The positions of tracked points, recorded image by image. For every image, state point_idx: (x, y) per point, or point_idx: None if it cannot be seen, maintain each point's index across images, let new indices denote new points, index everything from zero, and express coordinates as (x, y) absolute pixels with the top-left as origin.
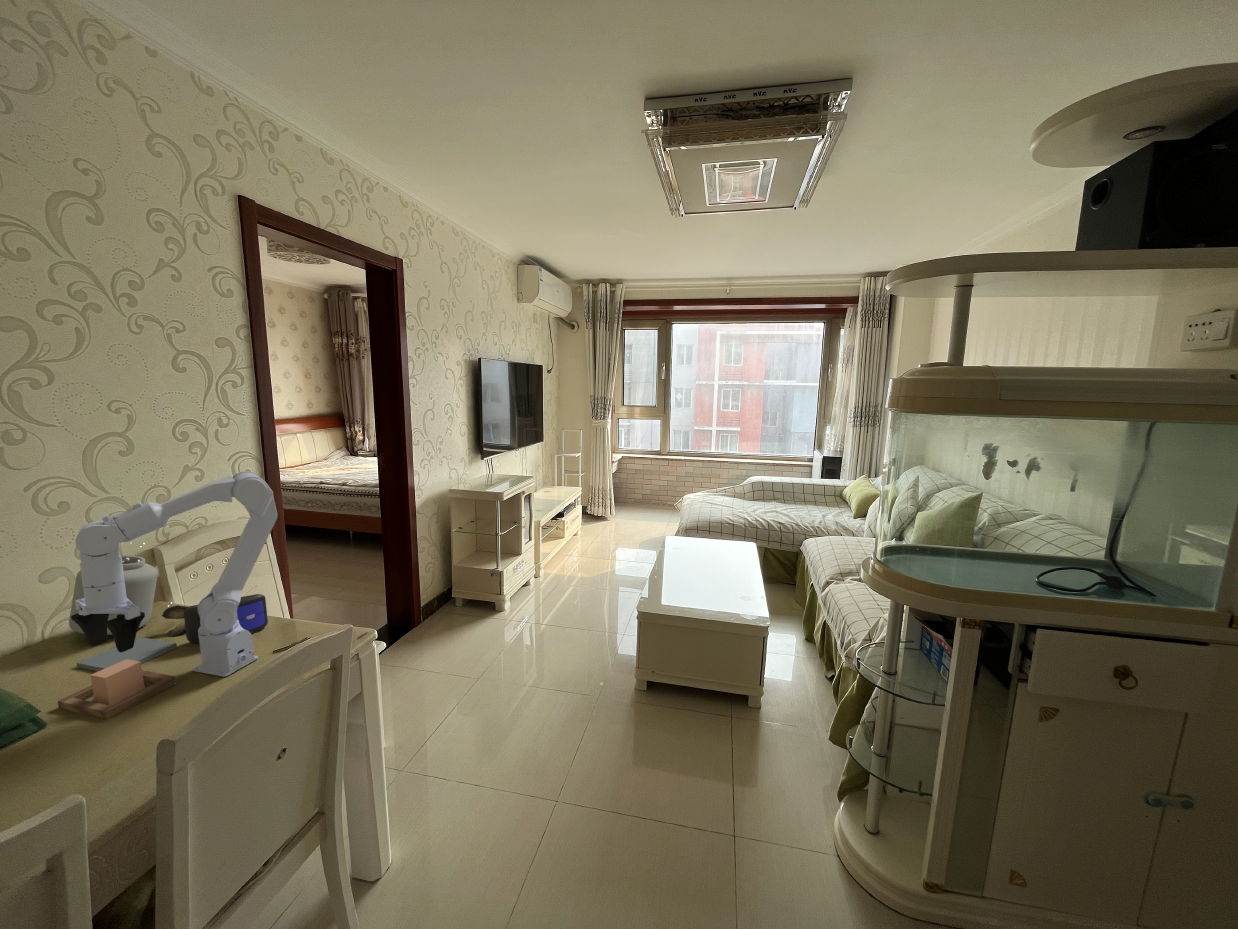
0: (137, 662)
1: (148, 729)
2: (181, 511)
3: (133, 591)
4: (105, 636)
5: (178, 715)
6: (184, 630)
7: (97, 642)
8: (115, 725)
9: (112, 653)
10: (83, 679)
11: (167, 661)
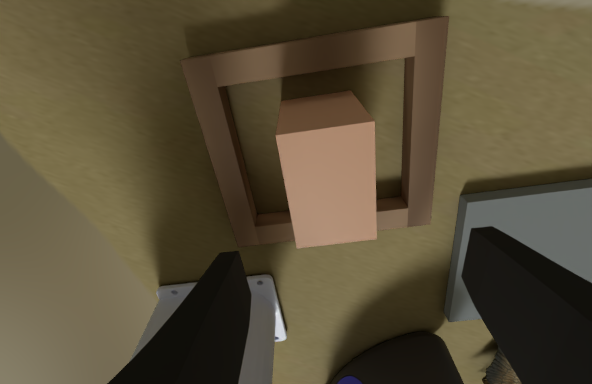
0: (301, 242)
1: (8, 83)
2: None
3: None
4: (478, 307)
5: (35, 157)
6: (496, 354)
7: (476, 258)
8: (123, 49)
9: (589, 244)
10: (546, 144)
11: (392, 274)
